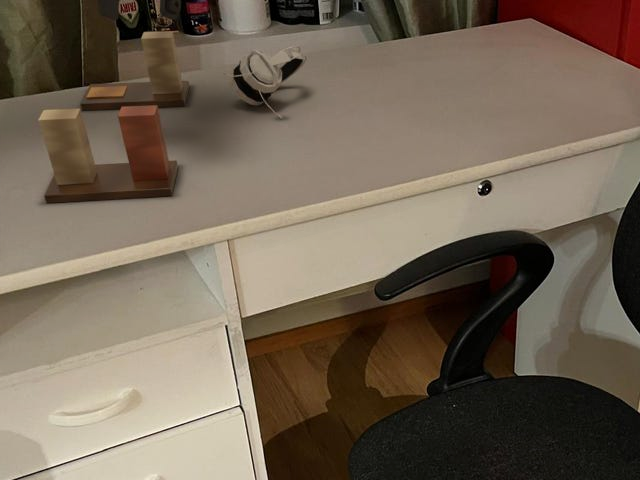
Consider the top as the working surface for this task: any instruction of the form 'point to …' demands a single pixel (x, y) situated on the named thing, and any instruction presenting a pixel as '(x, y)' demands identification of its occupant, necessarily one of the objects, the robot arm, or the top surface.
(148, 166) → the tall red-orange pillar
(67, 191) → the cream block stand
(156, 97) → the upright block on base
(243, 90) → the headphones
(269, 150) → the top surface
